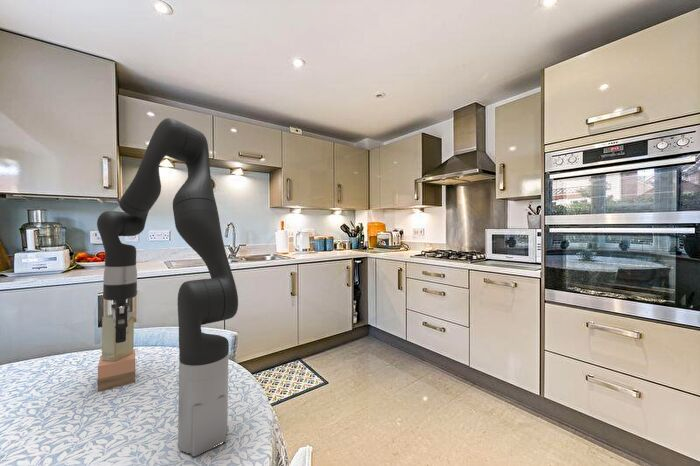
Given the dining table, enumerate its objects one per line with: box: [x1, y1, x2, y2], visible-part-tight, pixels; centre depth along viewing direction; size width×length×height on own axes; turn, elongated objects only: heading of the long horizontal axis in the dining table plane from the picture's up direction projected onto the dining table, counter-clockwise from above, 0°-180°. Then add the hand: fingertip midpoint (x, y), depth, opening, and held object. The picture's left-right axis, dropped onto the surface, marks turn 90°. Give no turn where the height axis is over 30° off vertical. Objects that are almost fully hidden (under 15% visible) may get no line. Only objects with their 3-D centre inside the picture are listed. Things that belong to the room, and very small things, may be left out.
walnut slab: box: [97, 370, 136, 393], centre depth 82 cm, size 8×8×4 cm
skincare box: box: [101, 311, 135, 361], centre depth 82 cm, size 6×4×12 cm
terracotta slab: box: [97, 348, 136, 380], centre depth 82 cm, size 8×8×4 cm
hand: (119, 337), depth 82 cm, fingers open, 8 cm apart
